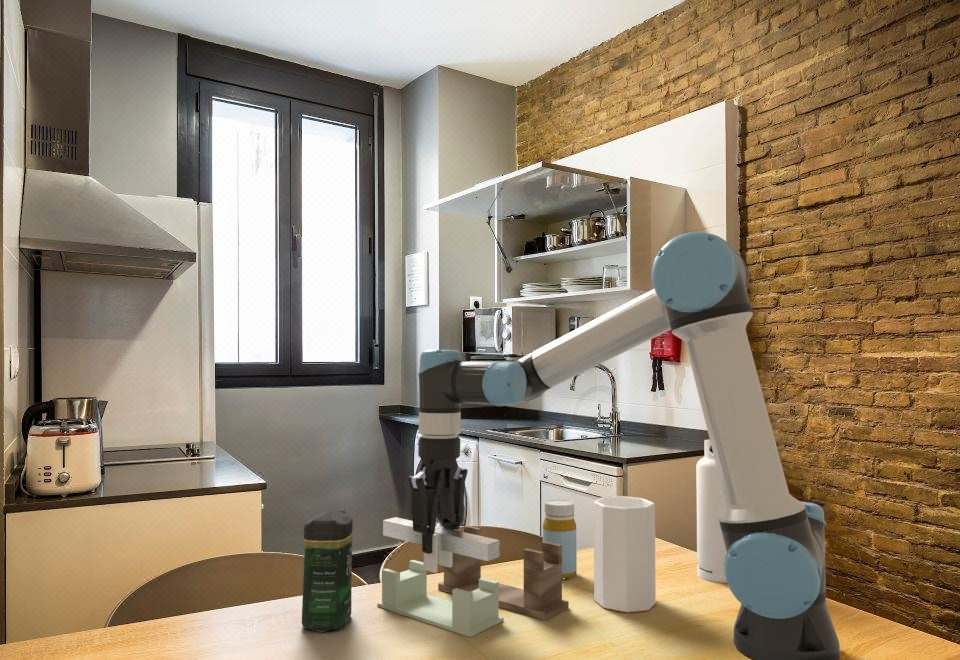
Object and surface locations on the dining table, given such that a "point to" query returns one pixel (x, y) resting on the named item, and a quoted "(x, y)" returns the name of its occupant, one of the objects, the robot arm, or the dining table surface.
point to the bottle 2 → (709, 519)
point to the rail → (445, 539)
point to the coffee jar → (327, 571)
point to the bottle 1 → (562, 532)
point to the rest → (440, 601)
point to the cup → (624, 553)
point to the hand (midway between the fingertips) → (438, 567)
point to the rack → (533, 601)
